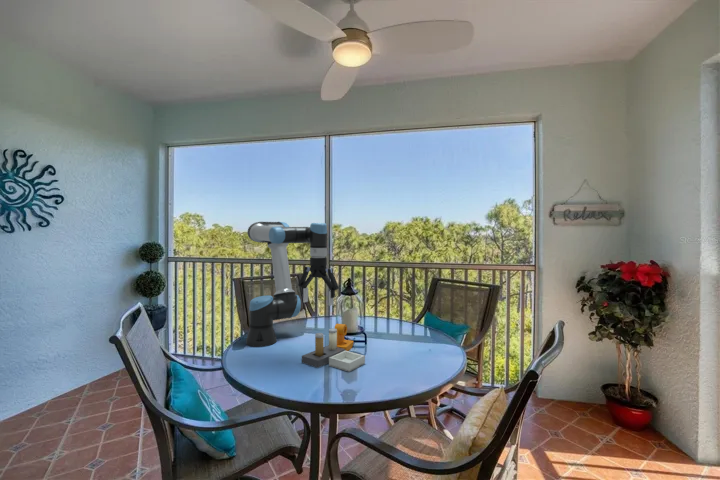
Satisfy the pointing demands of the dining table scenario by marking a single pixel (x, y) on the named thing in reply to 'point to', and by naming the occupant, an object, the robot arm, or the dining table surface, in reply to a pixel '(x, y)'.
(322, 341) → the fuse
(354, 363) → the parts tray
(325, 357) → the fuse block
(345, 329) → the bracket
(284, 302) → the robot arm
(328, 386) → the dining table surface
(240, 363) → the dining table surface
